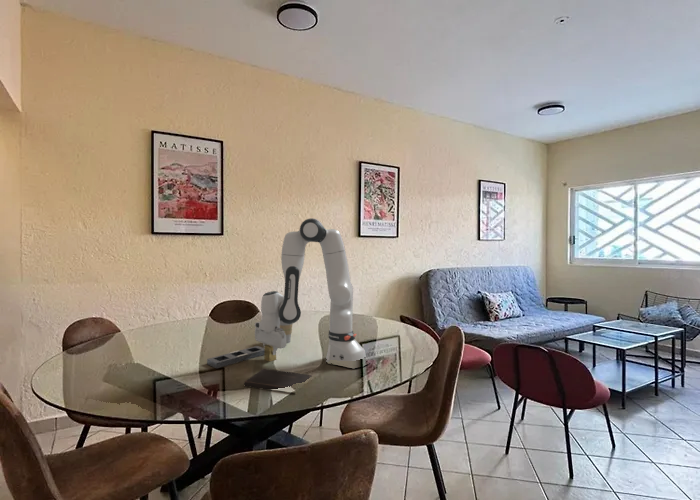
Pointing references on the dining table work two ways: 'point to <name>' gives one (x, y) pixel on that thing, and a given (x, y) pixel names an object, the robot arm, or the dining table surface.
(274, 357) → the block
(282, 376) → the hardcover book
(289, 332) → the coffee cup
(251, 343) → the dining table surface
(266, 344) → the robot arm
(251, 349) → the grey slotted tray
